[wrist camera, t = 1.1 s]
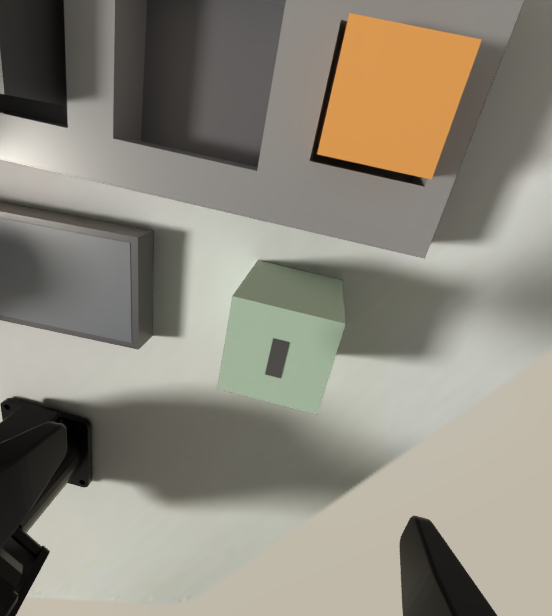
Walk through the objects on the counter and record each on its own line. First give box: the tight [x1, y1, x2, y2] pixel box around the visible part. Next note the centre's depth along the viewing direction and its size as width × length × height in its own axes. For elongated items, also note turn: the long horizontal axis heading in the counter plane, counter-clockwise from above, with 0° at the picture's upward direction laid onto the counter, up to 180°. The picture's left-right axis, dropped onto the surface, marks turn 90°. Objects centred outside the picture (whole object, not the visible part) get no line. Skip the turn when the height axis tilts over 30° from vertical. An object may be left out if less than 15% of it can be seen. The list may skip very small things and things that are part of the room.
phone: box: [0, 202, 154, 349], centre depth 21 cm, size 6×12×2 cm, turn 81°
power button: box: [317, 13, 482, 180], centre depth 13 cm, size 4×4×3 cm
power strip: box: [0, 0, 524, 258], centre depth 14 cm, size 24×10×5 cm, turn 79°
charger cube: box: [217, 260, 346, 415], centre depth 18 cm, size 5×5×6 cm
